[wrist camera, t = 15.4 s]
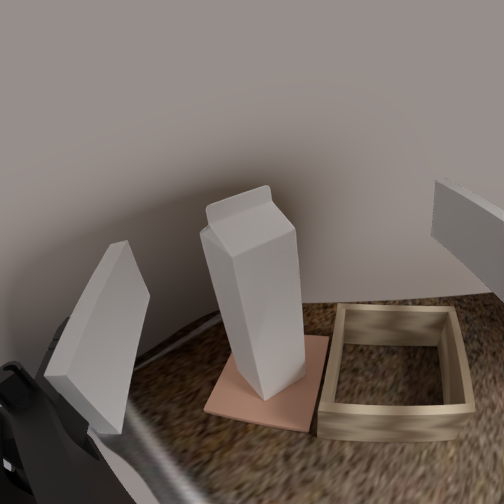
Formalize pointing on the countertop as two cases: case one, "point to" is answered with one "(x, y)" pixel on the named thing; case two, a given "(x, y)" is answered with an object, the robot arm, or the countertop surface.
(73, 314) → the robot arm
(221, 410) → the mat
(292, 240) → the milk
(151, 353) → the countertop surface
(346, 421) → the holder
